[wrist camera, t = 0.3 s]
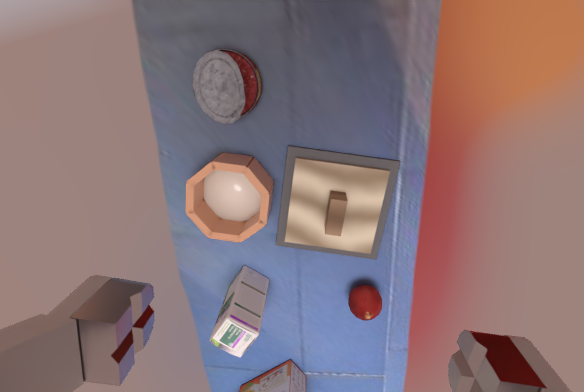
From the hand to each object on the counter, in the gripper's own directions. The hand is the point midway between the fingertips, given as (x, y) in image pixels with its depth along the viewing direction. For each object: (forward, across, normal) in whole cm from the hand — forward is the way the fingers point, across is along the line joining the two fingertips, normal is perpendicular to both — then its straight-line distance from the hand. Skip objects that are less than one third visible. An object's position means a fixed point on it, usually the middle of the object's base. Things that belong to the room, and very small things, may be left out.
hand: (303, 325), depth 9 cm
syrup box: (+47, +7, +32) cm, 57 cm away
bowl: (+46, +11, +14) cm, 50 cm away
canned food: (+47, +13, -3) cm, 49 cm away
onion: (+47, -14, +30) cm, 57 cm away
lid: (+46, -6, +14) cm, 48 cm away
